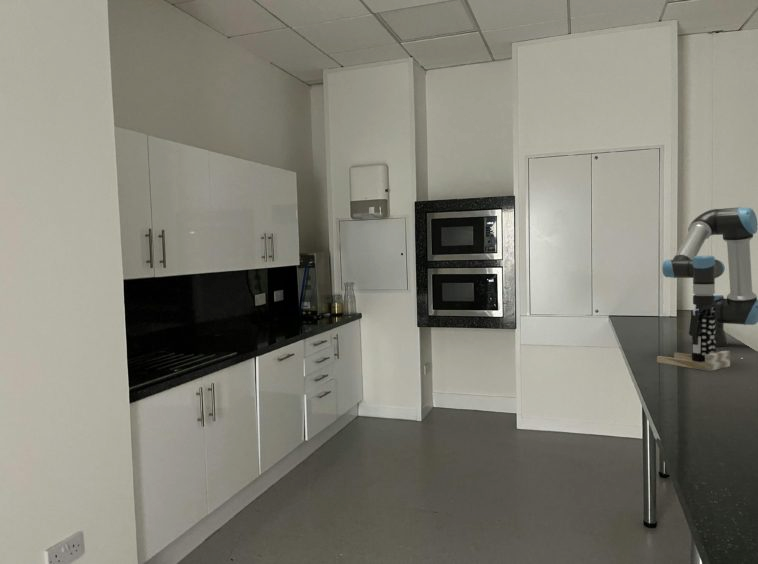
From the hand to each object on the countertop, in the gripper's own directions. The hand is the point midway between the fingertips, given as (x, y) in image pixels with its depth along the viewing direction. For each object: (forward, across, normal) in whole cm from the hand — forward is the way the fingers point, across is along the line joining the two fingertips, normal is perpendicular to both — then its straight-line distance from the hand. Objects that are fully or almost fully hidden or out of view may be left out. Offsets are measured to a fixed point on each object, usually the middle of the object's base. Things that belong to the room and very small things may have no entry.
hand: (703, 351), depth 235 cm
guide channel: (+6, 0, -6) cm, 8 cm away
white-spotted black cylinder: (+6, 0, 0) cm, 6 cm away
